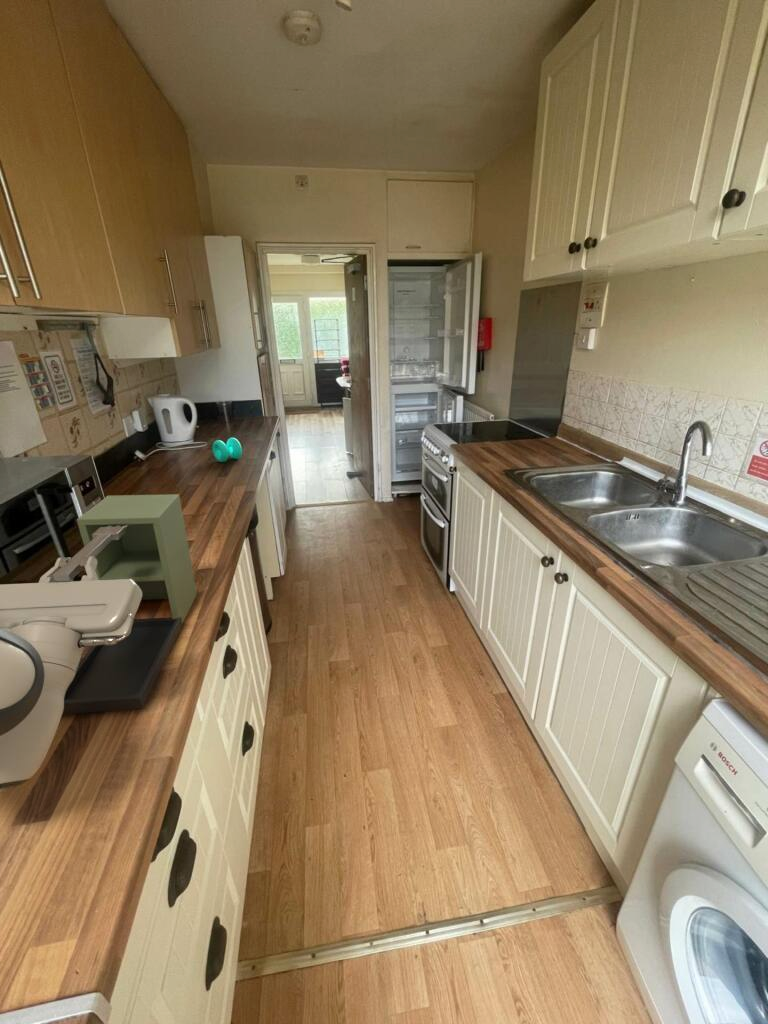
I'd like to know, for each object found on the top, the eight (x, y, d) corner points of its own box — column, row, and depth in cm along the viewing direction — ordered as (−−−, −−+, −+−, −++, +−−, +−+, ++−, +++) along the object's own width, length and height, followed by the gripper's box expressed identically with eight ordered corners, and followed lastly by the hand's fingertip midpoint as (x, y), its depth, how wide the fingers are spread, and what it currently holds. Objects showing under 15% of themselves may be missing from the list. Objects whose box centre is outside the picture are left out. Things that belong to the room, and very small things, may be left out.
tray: (52, 715, 68) (48, 704, 67) (113, 629, 87) (110, 620, 86) (142, 708, 70) (139, 698, 69) (183, 625, 89) (181, 616, 88)
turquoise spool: (212, 460, 197) (209, 439, 193) (232, 456, 204) (229, 435, 200) (224, 464, 191) (221, 442, 187) (244, 460, 198) (241, 439, 194)
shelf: (108, 631, 87) (76, 519, 77) (133, 597, 98) (107, 495, 88) (180, 627, 88) (158, 517, 78) (196, 594, 99) (179, 494, 89)
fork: (77, 581, 61) (75, 573, 61) (47, 582, 61) (44, 575, 60) (130, 527, 77) (129, 521, 77) (107, 528, 77) (105, 522, 77)
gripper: (117, 635, 55) (143, 545, 63) (-59, 645, 53) (-8, 550, 61) (135, 651, 60) (157, 566, 68) (-24, 661, 58) (18, 571, 66)
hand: (78, 558), depth 65 cm, fingers closed on fork
